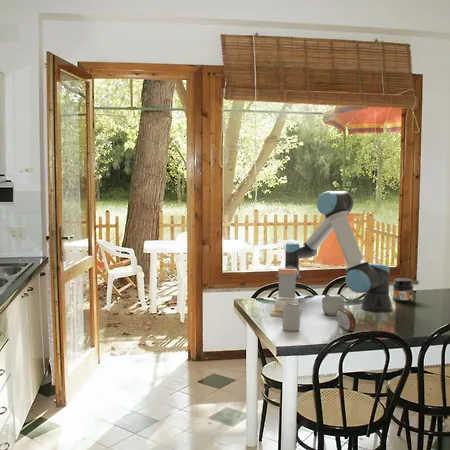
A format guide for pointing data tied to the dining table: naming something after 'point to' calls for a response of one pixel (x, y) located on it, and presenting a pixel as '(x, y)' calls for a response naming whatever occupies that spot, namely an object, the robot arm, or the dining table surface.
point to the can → (291, 316)
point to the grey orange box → (287, 283)
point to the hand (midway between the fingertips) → (285, 281)
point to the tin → (346, 319)
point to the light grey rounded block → (332, 304)
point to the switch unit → (279, 305)
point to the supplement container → (403, 290)
